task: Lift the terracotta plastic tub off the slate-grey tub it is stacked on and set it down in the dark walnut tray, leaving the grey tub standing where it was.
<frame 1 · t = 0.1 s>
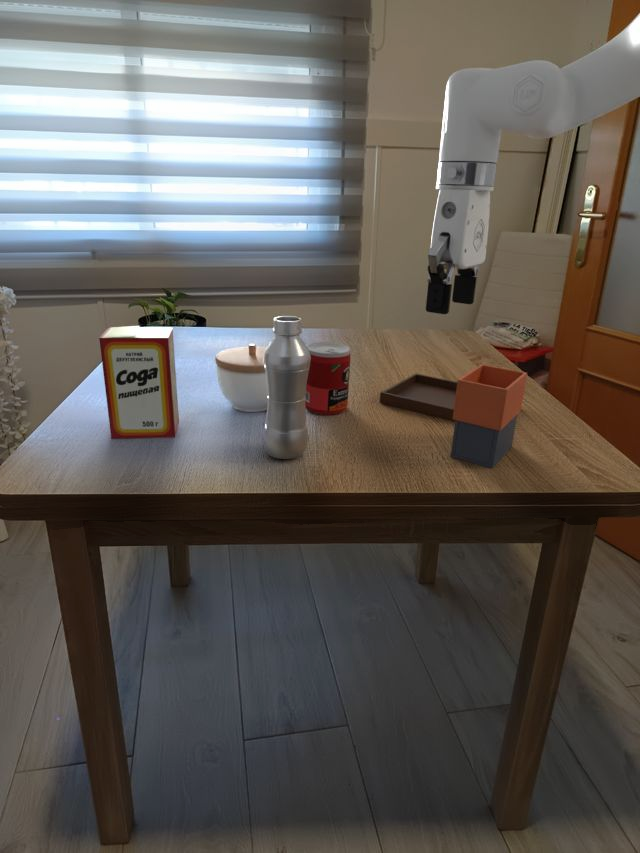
hand: (450, 307, 83), 21 cm above the table, tool pointing down, fingers open, 9 cm apart
lidded bowl: (252, 405, 103), on the table
terracotta tub: (487, 414, 85), point 6 cm above the table, touching grey tub
grey tub: (481, 451, 87), on the table, touching terracotta tub
silver metal bottle: (285, 455, 84), on the table
tray: (444, 402, 107), on the table
baking soda box: (146, 430, 91), on the table
canned food: (325, 408, 103), on the table
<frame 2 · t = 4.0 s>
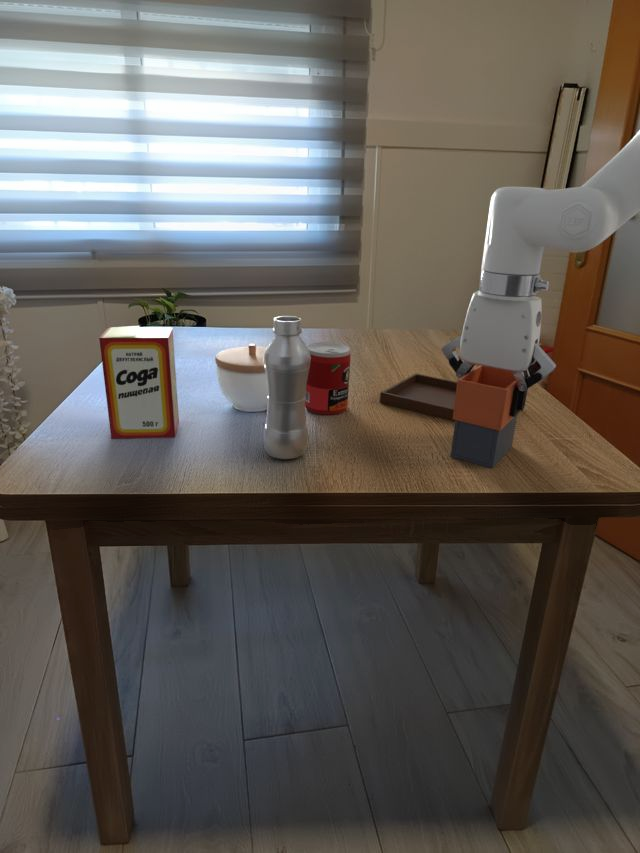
hand: (488, 407, 84), 7 cm above the table, tool pointing down, fingers closed on terracotta tub, 7 cm apart
terracotta tub: (487, 414, 85), point 6 cm above the table, touching grey tub, gripper
everything else where it was.
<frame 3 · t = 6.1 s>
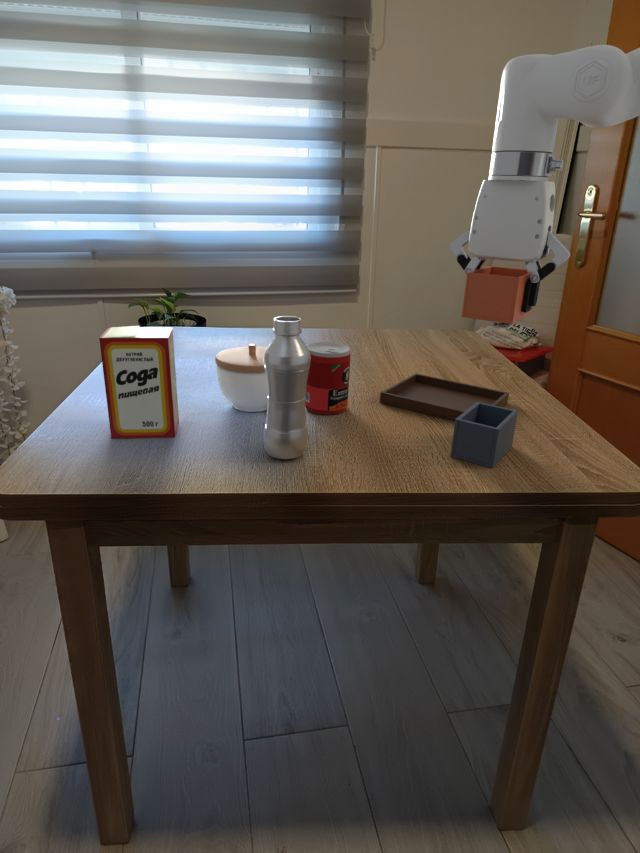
hand: (498, 306, 81), 22 cm above the table, tool pointing down, fingers closed on terracotta tub, 7 cm apart
terracotta tub: (497, 314, 81), point 20 cm above the table, touching gripper
grey tub: (481, 451, 87), on the table
everything else where it was.
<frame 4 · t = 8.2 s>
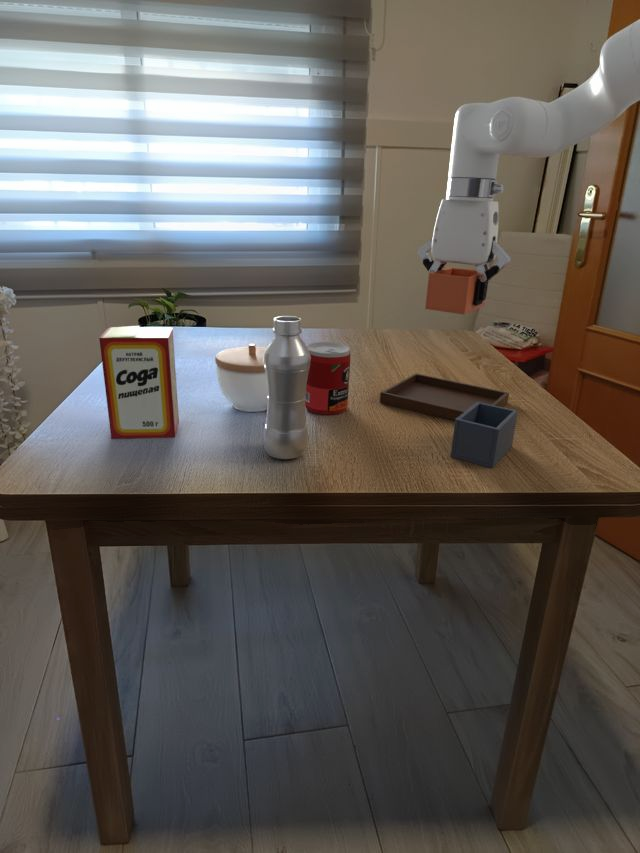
hand: (456, 300, 100), 19 cm above the table, tool pointing down, fingers closed on terracotta tub, 7 cm apart
terracotta tub: (455, 307, 100), point 18 cm above the table, touching gripper
everything else where it was.
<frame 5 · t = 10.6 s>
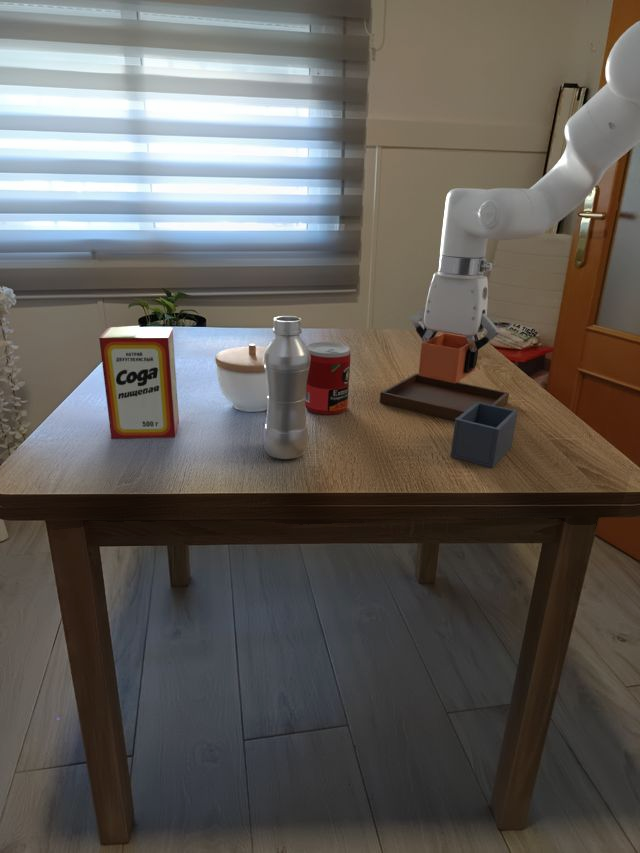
hand: (448, 366, 104), 7 cm above the table, tool pointing down, fingers closed on terracotta tub, 7 cm apart
terracotta tub: (447, 372, 105), point 6 cm above the table, touching gripper
everything else where it was.
when the fingers open (2 cm above the table, at t = 12.6 s): terracotta tub stays where it is, resting on tray.
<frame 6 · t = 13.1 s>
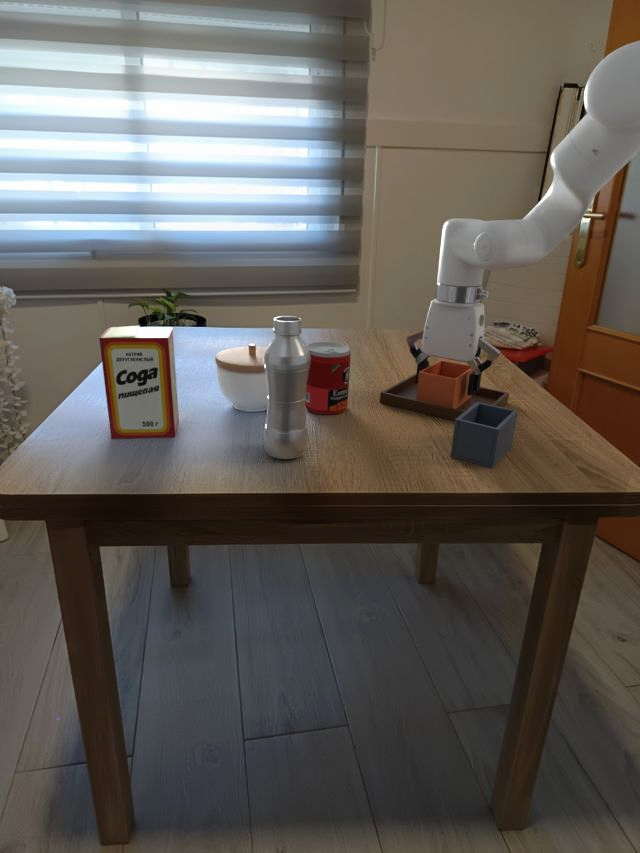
hand: (446, 388, 106), 3 cm above the table, tool pointing down, fingers open, 9 cm apart
terracotta tub: (444, 400, 107), resting on tray
everything else where it was.
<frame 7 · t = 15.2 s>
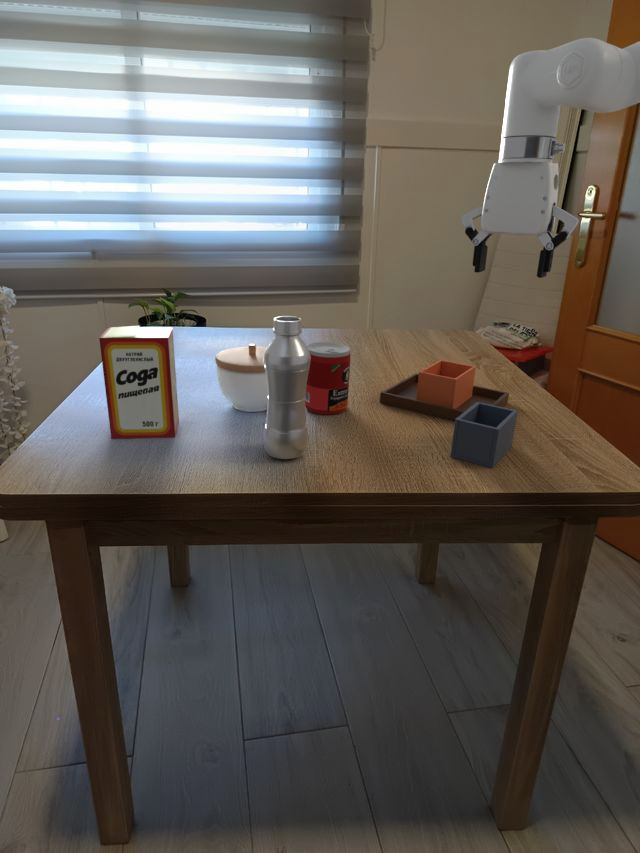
hand: (509, 274, 89), 25 cm above the table, tool pointing down, fingers open, 9 cm apart
nothing on the table moved.
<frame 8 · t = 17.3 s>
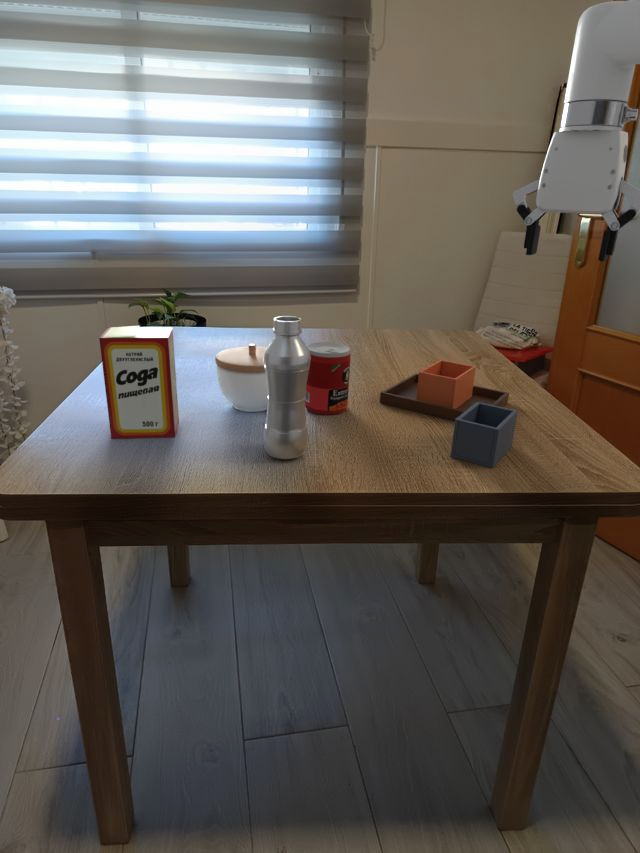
hand: (565, 257, 81), 28 cm above the table, tool pointing down, fingers open, 9 cm apart
nothing on the table moved.
at the end: terracotta tub inside the target area in the tray (0.1 cm from its centre), point 0.5 cm above the tray's base; terracotta tub tilted 0°; grey tub moved 0.0 cm from its start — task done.
